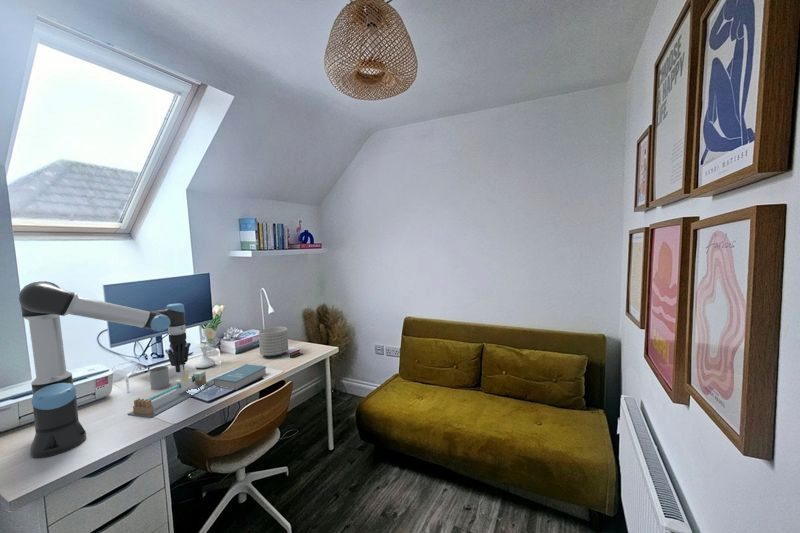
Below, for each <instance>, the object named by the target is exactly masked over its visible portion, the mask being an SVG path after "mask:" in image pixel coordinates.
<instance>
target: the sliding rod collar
mask: <svg viewBox="0 0 800 533" xmlns="http://www.w3.org/2000/svg"><path fill="white" fill-rule="evenodd" d="M180 383H181V386H180V387H178V388H176V389H175V390H184V389H186V388H188V387H190V386H192V385H193V383H192V377H191V376H190V375H189V369H187V368H184V377H183V378H177V379H176V380H175V381H174V384H175V385H174V386H176V385H178V384H180Z"/></svg>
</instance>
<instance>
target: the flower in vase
mask: <svg viewBox="0 0 800 533" xmlns="http://www.w3.org/2000/svg"><path fill="white" fill-rule="evenodd" d="M204 335H205V337H206V340H205V341H200V344H201V345H200V346H199V348H200V349H201V352H202V357H201V358H200V359H199V360H198V361H196V363H195V368H197V369H205V368H209V367H213V366H214V365H215V363H216V360H214V359H212V358H211V357H209V356H208V354H207V353H208V352H207V351H208V347H209V344H207V342H208V343H212V342H213V339H214V338H215V337H216V336H217V335H216V331H215V330H214V329H213V328H212V327H209V328H208V327H207V328H206V329H205V330H204Z"/></svg>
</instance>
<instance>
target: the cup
mask: <svg viewBox="0 0 800 533" xmlns="http://www.w3.org/2000/svg"><path fill="white" fill-rule="evenodd" d="M169 376H170V375H169V366H167V365H164V366H163V365H161V366H156V367H154V368H151V369H149V379H150V389H151V390H161V389H164V388H167V387H169V386H170V377H169Z"/></svg>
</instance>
